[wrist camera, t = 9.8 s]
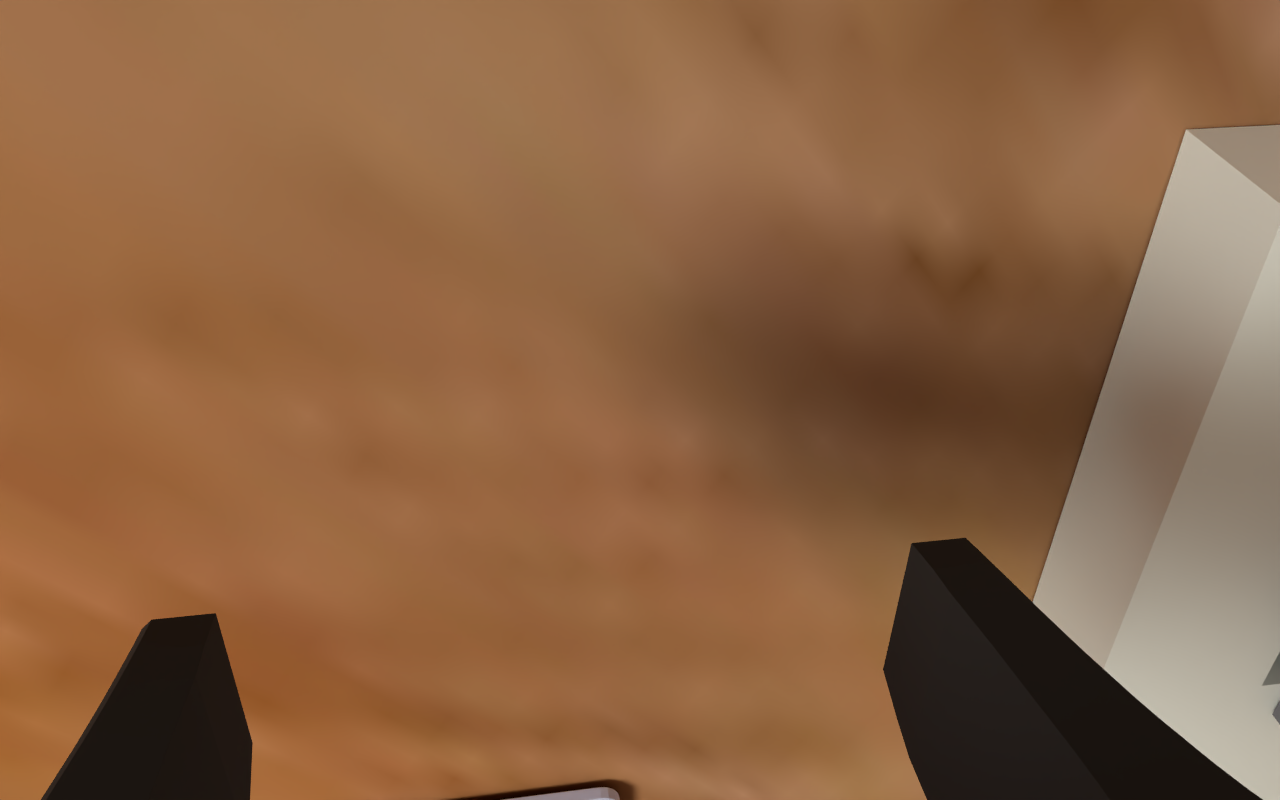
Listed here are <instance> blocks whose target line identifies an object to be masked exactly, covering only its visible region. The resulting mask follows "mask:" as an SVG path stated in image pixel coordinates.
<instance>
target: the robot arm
mask: <svg viewBox="0 0 1280 800" xmlns="http://www.w3.org/2000/svg"><path fill="white" fill-rule="evenodd" d="M883 670H884V674H885V677H886V681H887V685H888V688H889V692H890V695H891V699H892V702H893V706H894V709H895V713H896V716H897V720H898V723H899V726H900V729H901V732H902V736H903V739H904V742H905V745H906V749H907V752H908V755H909V758H910V760H911V763H912V765H913V767H914V770H915V772H916V775H917V777H918V779H919V782H920V784H921V786H922V789H923V791H924V793H925V796H926V798H927V800H1263V799H1261V798H1260V797H1259V796H1257V795H1256V794H1254V793H1253V792H1252V791H1250V790H1249V789H1248V788H1246V787H1245V786H1243V785H1242V784H1241V783H1239V782H1238V781H1237V780H1236V779H1234V778H1233V777H1232V776H1230V775H1229V774H1228V773H1226V772H1225V771H1224V770H1223V769H1221V768H1220V767H1219V766H1217V765H1216V764H1215V763H1214V762H1212V761H1211V760H1210V759H1208V758H1207V757H1206V756H1205V755H1204V754H1202V753H1201V752H1200V751H1199V750H1197V749H1196V748H1195V747H1194V746H1193V745H1191V744H1190V743H1189V742H1188V741H1186V740H1185V739H1184V738H1183V737H1182V736H1180V735H1179V734H1178V733H1177V732H1175V731H1174V730H1173V729H1172V728H1171V727H1169V726H1168V725H1167V724H1166V723H1164V722H1163V721H1162V720H1161V719H1160V718H1158V717H1157V716H1156V715H1155V714H1154V713H1153V712H1151V711H1150V710H1149V709H1148V708H1147V707H1146V706H1144V705H1143V704H1142V703H1141V702H1140V701H1139V700H1138V699H1136V698H1135V697H1134V696H1133V695H1132V694H1131V693H1130V692H1129V691H1127V690H1126V689H1125V688H1124V687H1123V686H1122V685H1121V684H1120V683H1119V682H1117V681H1116V680H1115V679H1114V678H1113V677H1112V676H1111V675H1110V674H1109V673H1108V672H1106V671H1105V670H1104V669H1103V668H1102V667H1101V666H1100V665H1099V664H1098V663H1096V662H1095V661H1094V660H1093V659H1092V658H1091V657H1090V656H1089V655H1088V654H1086V653H1085V652H1084V651H1083V650H1082V649H1081V648H1080V647H1079V646H1078V645H1077V644H1076V643H1075V642H1074V641H1073V640H1071V639H1070V638H1069V637H1068V636H1067V635H1066V634H1065V633H1064V632H1063V631H1062V630H1061V629H1060V628H1059V627H1058V626H1057V625H1056V624H1055V623H1054V622H1053V621H1051V620H1050V619H1049V618H1048V617H1047V616H1046V615H1045V614H1044V613H1043V612H1042V611H1041V610H1040V609H1039V608H1038V607H1037V606H1036V605H1035V604H1034V603H1033V602H1032V601H1031V600H1030V599H1029V598H1028V597H1026V596H1025V595H1024V594H1023V593H1022V592H1021V591H1020V590H1019V589H1018V588H1017V587H1016V586H1015V585H1014V584H1013V583H1012V582H1011V581H1010V580H1009V579H1008V578H1007V577H1006V576H1005V575H1004V574H1003V573H1002V572H1001V571H1000V570H999V569H998V568H997V567H995V566H994V565H993V564H992V563H991V562H990V561H989V560H988V559H987V558H986V557H985V556H984V555H983V554H982V553H981V552H980V551H979V550H978V549H977V548H976V547H975V546H974V545H973V544H971V543H970V542H969V541H968V540H967V539H966V538H959V539H949V540H939V541H930V542H920V543H912V544H911V548H910V553H909V557H908V562H907V566H906V571H905V575H904V580H903V584H902V588H901V593H900V597H899V602H898V606H897V611H896V615H895V619H894V624H893V628H892V633H891V637H890V642H889V646H888V651H887V655H886V659H885V664H884V668H883ZM251 763H252V740H251V736H250V733H249V729H248V726H247V722H246V719H245V715H244V712H243V708H242V705H241V701H240V697H239V694H238V690H237V687H236V683H235V680H234V676H233V673H232V669H231V666H230V662H229V659H228V655H227V652H226V648H225V645H224V641H223V637H222V634H221V630H220V627H219V623H218V620H217V616H216V613H214V614H204V615H194V616H184V617H174V618H165V619H155V620H151V621H150V622H149V623H148V624H147V625H146V626H145V627H144V628H143V629H142V630H141V632H140V634H139V636H138V637H137V639H136V641H135V643H134V645H133V647H132V649H131V651H130V652H129V654H128V656H127V658H126V660H125V661H124V663H123V665H122V667H121V669H120V670H119V672H118V674H117V676H116V678H115V679H114V681H113V683H112V685H111V686H110V688H109V690H108V692H107V693H106V695H105V697H104V699H103V700H102V702H101V704H100V706H99V707H98V709H97V711H96V712H95V714H94V716H93V717H92V719H91V721H90V722H89V724H88V726H87V727H86V729H85V731H84V732H83V734H82V736H81V737H80V739H79V741H78V742H77V744H76V746H75V747H74V749H73V750H72V752H71V754H70V755H69V757H68V758H67V760H66V761H65V763H64V765H63V766H62V768H61V769H60V771H59V772H58V774H57V776H56V777H55V779H54V780H53V782H52V783H51V785H50V786H49V788H48V790H47V791H46V793H45V794H44V796H43V797H42V799H41V800H250V785H251ZM502 800H620V798H619V795H618V792H616V791H615V790H614V789H611V788H608V787H597V788H589V789H581V790H573V791H565V792H557V793H549V794H542V795H534V796H526V797H518V798H510V799H502Z"/></svg>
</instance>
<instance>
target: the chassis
mask: <svg viewBox="0 0 1280 800" xmlns="http://www.w3.org/2000/svg"><path fill="white" fill-rule="evenodd" d="M1033 603H1034V604H1035V605H1036V606H1037V607H1038V608H1039V609H1040V610H1041V611H1042V612H1043V613H1044V614H1045V615H1046V616H1047V617H1048V618H1049V619H1050V620H1051V621H1053V622H1054V623H1055V624H1056V625H1057V626H1058V627H1059V628H1060V629H1061V630H1062V631H1063V632H1064V633H1065V634H1066V635H1067V636H1068V637H1069V638H1070V639H1071V640H1073V641H1074V642H1075V643H1076V644H1077V645H1078V646H1079V647H1080V648H1081V649H1082V650H1083V651H1084V652H1085V653H1086V654H1088V655H1089V656H1090V657H1091V658H1092V659H1093V660H1094V661H1095V662H1096V663H1098V664H1099V665H1100V666H1101V667H1102V668H1103V669H1104V670H1105V671H1106V672H1108V673H1109V674H1110V675H1111V676H1112V677H1113V678H1114V679H1115V680H1116V681H1117V682H1119V683H1120V684H1121V685H1122V686H1123V687H1124V688H1125V689H1126V690H1127V691H1129V692H1130V693H1131V694H1132V695H1133V696H1134V697H1135V698H1136V699H1138V700H1139V701H1140V702H1141V703H1142V704H1143V705H1144V706H1146V707H1147V708H1148V709H1149V710H1150V711H1151V712H1153V713H1154V714H1155V715H1156V716H1157V717H1158V718H1160V719H1161V720H1162V721H1163V722H1164V723H1166V724H1167V725H1168V726H1169V727H1171V728H1172V729H1173V730H1174V731H1175V732H1177V733H1178V734H1179V735H1180V736H1182V737H1183V738H1184V739H1185V740H1186V741H1188V742H1189V743H1190V744H1191V745H1193V746H1194V747H1195V748H1196V749H1197V750H1199V751H1200V752H1201V753H1202V754H1204V755H1205V756H1206V757H1207V758H1208V759H1210V760H1211V761H1212V762H1214V763H1215V764H1216V765H1217V766H1219V767H1220V768H1221V769H1223V770H1224V771H1225V772H1226V773H1228V774H1229V775H1230V776H1232V777H1233V778H1234V779H1236V780H1237V781H1238V782H1239V783H1241V784H1242V785H1243V786H1245V787H1246V788H1248V789H1249V790H1250V791H1252V792H1253V793H1254V794H1256V795H1257V796H1259V797H1260V798H1261V799H1263V800H1280V724H1279V723H1278V722H1277V720H1276V719H1275V717H1274V716H1273V715H1272V714H1273V712H1274V710H1275V708H1276V707H1277V705H1278V703H1279V702H1280V125H1267V126H1247V127H1226V128H1206V129H1186V131H1185V135H1184V138H1183V141H1182V144H1181V147H1180V150H1179V153H1178V156H1177V159H1176V162H1175V165H1174V168H1173V172H1172V175H1171V178H1170V181H1169V184H1168V187H1167V190H1166V193H1165V196H1164V199H1163V202H1162V205H1161V208H1160V212H1159V215H1158V218H1157V221H1156V224H1155V227H1154V230H1153V233H1152V236H1151V239H1150V242H1149V245H1148V249H1147V252H1146V255H1145V258H1144V261H1143V264H1142V267H1141V270H1140V273H1139V276H1138V279H1137V282H1136V285H1135V289H1134V292H1133V295H1132V298H1131V301H1130V304H1129V307H1128V310H1127V313H1126V316H1125V319H1124V322H1123V325H1122V329H1121V332H1120V335H1119V338H1118V341H1117V344H1116V347H1115V350H1114V353H1113V356H1112V359H1111V362H1110V366H1109V369H1108V372H1107V375H1106V378H1105V381H1104V384H1103V387H1102V390H1101V393H1100V396H1099V399H1098V402H1097V406H1096V409H1095V412H1094V415H1093V418H1092V421H1091V424H1090V427H1089V430H1088V433H1087V436H1086V439H1085V443H1084V446H1083V449H1082V452H1081V455H1080V458H1079V461H1078V464H1077V467H1076V470H1075V473H1074V476H1073V479H1072V483H1071V486H1070V489H1069V492H1068V495H1067V498H1066V501H1065V504H1064V507H1063V510H1062V513H1061V516H1060V520H1059V523H1058V526H1057V529H1056V532H1055V535H1054V538H1053V541H1052V544H1051V547H1050V550H1049V553H1048V556H1047V560H1046V563H1045V566H1044V569H1043V572H1042V575H1041V578H1040V581H1039V584H1038V587H1037V590H1036V593H1035V596H1034V600H1033Z"/></svg>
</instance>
